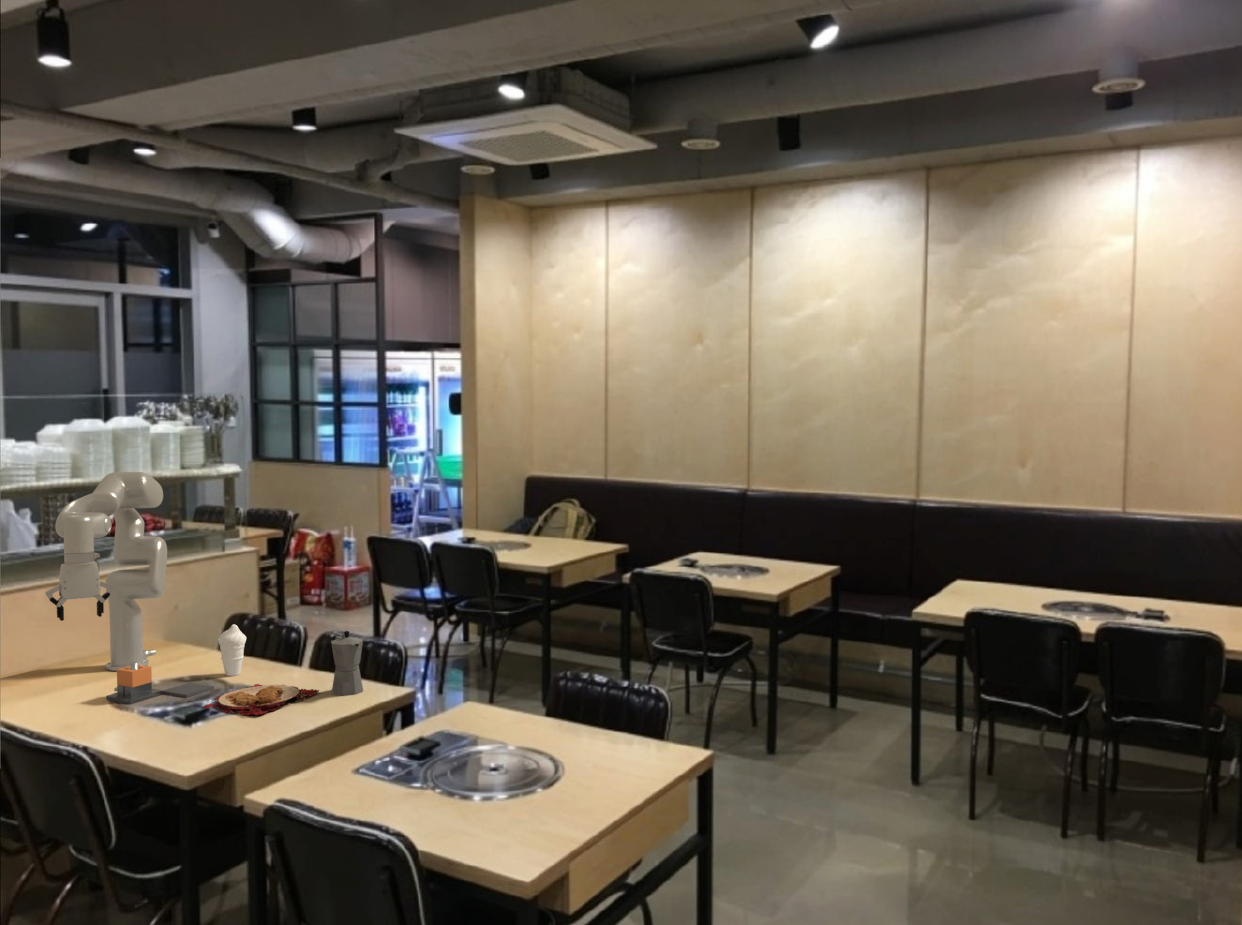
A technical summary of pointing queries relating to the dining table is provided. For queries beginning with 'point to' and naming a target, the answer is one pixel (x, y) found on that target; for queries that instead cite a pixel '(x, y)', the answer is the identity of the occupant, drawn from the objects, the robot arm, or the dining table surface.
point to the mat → (187, 690)
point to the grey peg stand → (134, 691)
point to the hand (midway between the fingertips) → (80, 618)
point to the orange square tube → (134, 676)
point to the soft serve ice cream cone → (232, 650)
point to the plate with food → (259, 698)
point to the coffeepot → (347, 665)
